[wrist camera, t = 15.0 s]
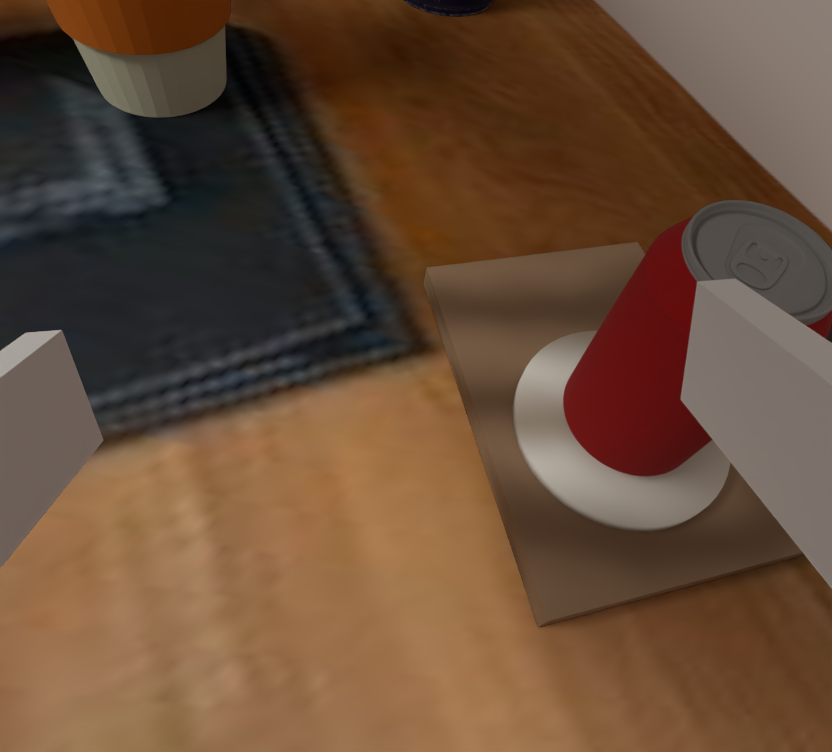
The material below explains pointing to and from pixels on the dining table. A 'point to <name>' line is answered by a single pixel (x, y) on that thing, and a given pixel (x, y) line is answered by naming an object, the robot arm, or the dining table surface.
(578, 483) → the drinks board
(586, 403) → the beverage can
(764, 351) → the robot arm
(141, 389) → the dining table surface
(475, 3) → the dark blue cylinder
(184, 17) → the reusable coffee cup
